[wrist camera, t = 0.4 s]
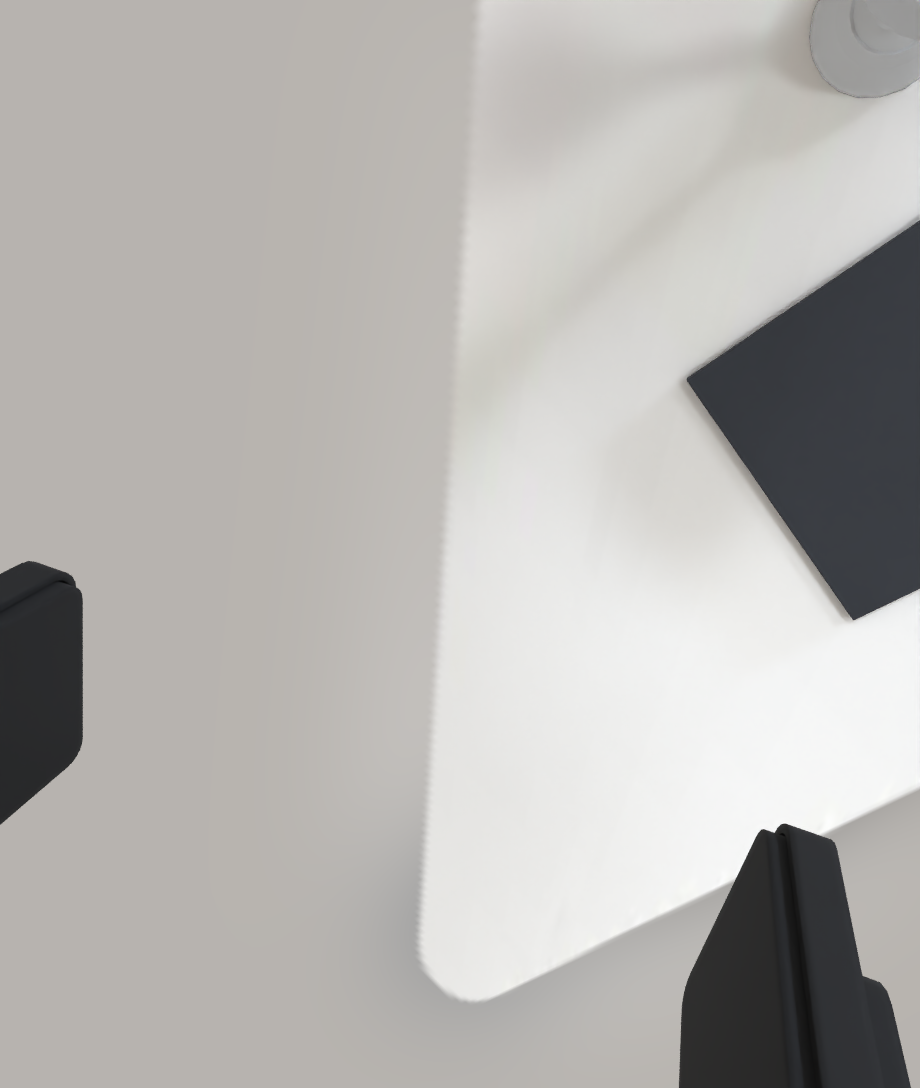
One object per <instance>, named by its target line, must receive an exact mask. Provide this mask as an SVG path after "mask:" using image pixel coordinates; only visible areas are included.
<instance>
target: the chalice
mask: <svg viewBox="0 0 920 1088" xmlns="http://www.w3.org/2000/svg"><path fill="white" fill-rule="evenodd" d="M809 38H810V44H811V51H812V57H813V61H814V63H815V65H816V66H817V68H818V70H819V72H820V74H821V76H822V78H823V79H824V80H826V81H827V82H828V83H829V84H830V85H832V86H833V87H834V88H835V89H836V90H838V91H839V92H842V93H845V94H849V95H852V96H855V97H858V98H865V97H882V96H885V95H888V94H891V93H894V92H897V91H899V90H902V89H905V88H906V87H907V86H909V85H910V84H912V83H913V82H915V81H916V80H918V79H919V78H920V0H819V1H818V3H817V5H816V8H815V10H814V12H813V17H812V24H811V30H810V37H809Z"/></svg>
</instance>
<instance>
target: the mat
mask: <svg viewBox="0 0 920 1088" xmlns="http://www.w3.org/2000/svg"><path fill="white" fill-rule="evenodd" d="M687 382H688V383H689V384H690V386H691V387H692V389H693V390H694V392H695V393H696V395H697V396H698V397H699V399H700V400H701V402H702V403H703V405H704V406H705V407H706V409H707V410H708V412H709V413H710V415H711V416H712V418H713V419H714V420H715V422H716V423H717V425H718V426H719V428H720V429H721V431H722V432H723V433H724V435H725V436H726V438H727V439H728V441H729V442H730V443H731V445H732V446H733V448H734V449H735V451H736V452H737V454H738V455H739V456H740V458H741V459H742V461H743V462H744V464H745V465H746V467H747V468H748V469H749V471H750V472H751V474H752V475H753V477H754V478H755V480H756V481H757V482H758V484H759V485H760V487H761V488H762V490H763V491H764V492H765V494H766V495H767V497H768V498H769V500H770V501H771V503H772V504H773V505H774V507H775V508H776V510H777V511H778V513H779V514H780V516H781V517H782V518H783V520H784V521H785V523H786V524H787V526H788V527H789V528H790V530H791V531H792V533H793V534H794V536H795V537H796V539H797V540H798V541H799V543H800V544H801V546H802V547H803V549H804V550H805V552H806V553H807V554H808V556H809V557H810V559H811V560H812V562H813V563H814V565H815V566H816V567H817V569H818V570H819V572H820V573H821V575H822V576H823V577H824V579H825V580H826V582H827V583H828V585H829V586H830V588H831V589H832V590H833V592H834V593H835V595H836V596H837V598H838V599H839V601H840V602H841V603H842V605H843V606H844V608H845V609H846V611H847V612H848V613H849V615H850V616H851V618H852V619H853V620H855V619H857V618H860V617H862V616H864V615H866V614H868V613H870V612H872V611H874V610H876V609H878V608H880V607H882V606H885V605H887V604H889V603H891V602H893V601H895V600H897V599H899V598H901V597H903V596H905V595H907V594H910V593H912V592H914V591H916V590H918V589H920V221H918V222H917V223H915V224H914V225H912V226H911V227H909V228H908V229H907V230H905V231H904V232H902V233H901V234H899V235H898V236H896V237H895V238H893V239H892V240H890V241H889V242H887V243H886V244H884V245H883V246H881V247H880V248H878V249H877V250H876V251H874V252H873V253H871V254H870V255H868V256H867V257H865V258H864V259H862V260H861V261H859V262H858V263H856V264H855V265H853V266H852V267H850V268H849V269H847V270H846V271H845V272H843V273H842V274H840V275H839V276H837V277H836V278H834V279H833V280H831V281H830V282H828V283H827V284H825V285H824V286H822V287H821V288H819V289H818V290H817V291H815V292H814V293H812V294H811V295H809V296H808V297H806V298H805V299H803V300H802V301H800V302H799V303H797V304H796V305H794V306H793V307H791V308H790V309H788V310H787V311H786V312H784V313H783V314H781V315H780V316H778V317H777V318H775V319H774V320H772V321H771V322H769V323H768V324H766V325H765V326H763V327H762V328H760V329H759V330H757V331H756V332H755V333H753V334H752V335H750V336H749V337H747V338H746V339H744V340H743V341H741V342H740V343H738V344H737V345H735V346H734V347H732V348H731V349H729V350H728V351H727V352H725V353H724V354H722V355H721V356H719V357H718V358H716V359H715V360H713V361H712V362H710V363H709V364H707V365H706V366H704V367H703V368H701V369H700V370H698V371H697V372H696V373H694V374H693V375H691V376H690V377H688V378H687Z"/></svg>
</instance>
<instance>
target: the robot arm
mask: <svg viewBox="0 0 920 1088" xmlns="http://www.w3.org/2000/svg"><path fill="white" fill-rule="evenodd" d="M82 605H83V601H82V593H81V591H80V590H79V589H78V588H76V584H75V581H74V579H73V577H72V576H71V575H69V574H68V573H66V572H62V571H60V570H57V569H54V568H51V567H48V566H45V565H43V564H40V563H37V562H31V561H27V562H25V563H21V564H19V565H17V566H15V567H13V568H11V569H9V570H7V571H5V572H3V573H1V574H0V824H2V823H3V822H4V821H5V820H6V819H7V818H8V817H10V816H11V815H12V814H13V813H14V812H16V811H17V810H18V809H19V808H20V807H21V806H23V805H24V804H25V803H26V802H27V801H28V800H30V799H31V798H32V797H33V796H34V795H35V794H37V793H38V792H39V791H40V790H41V789H42V788H44V787H45V786H46V785H47V784H48V783H49V782H50V781H52V780H53V779H54V778H55V777H56V776H58V775H59V774H60V773H61V772H62V771H63V770H65V769H66V768H67V767H68V766H69V765H70V764H71V763H72V762H73V761H74V759H75V757H76V756H77V755H78V752H79V751H80V748H81V745H82V739H83V738H82V737H83V732H82V731H83V724H82V723H83V716H82V715H83V678H82V677H83V662H82V659H83V654H82V653H83V650H82V649H83V645H82V642H83V640H82V639H83V637H82V636H83V635H82V633H83V631H82V629H83V623H82V622H83V621H82V618H83V613H82V612H83V607H82ZM679 1075H680V1076H679V1088H911V1087H910V1082H909V1077H908V1074H907V1069H906V1064H905V1060H904V1056H903V1051H902V1047H901V1043H900V1039H899V1034H898V1030H897V1025H896V1021H895V1017H894V1012H893V1008H892V1004H891V1001H890V998H889V996H888V993H887V991H886V989H885V988H884V987H883V985H882V984H881V983H880V982H877V981H875V980H872V979H869V978H867V977H864V976H862V972H861V968H860V962H859V957H858V952H857V947H856V942H855V937H854V932H853V927H852V922H851V917H850V912H849V907H848V902H847V898H846V893H845V887H844V882H843V877H842V872H841V867H840V862H839V857H838V852H837V848H836V845H835V843H834V842H833V841H832V840H831V839H828V838H825V837H822V836H819V835H816V834H814V833H811V832H808V831H805V830H802V829H799V828H796V827H794V826H791V825H788V824H781V825H780V826H779V827H778V828H777V830H776V832H775V833H773V832H770V831H767V830H764V829H763V830H761V831H760V832H759V833H758V835H757V836H756V838H755V840H754V842H753V845H752V847H751V849H750V851H749V853H748V855H747V857H746V859H745V861H744V863H743V865H742V867H741V869H740V872H739V874H738V876H737V878H736V880H735V882H734V884H733V886H732V888H731V891H730V893H729V894H728V896H727V899H726V901H725V903H724V905H723V907H722V909H721V911H720V913H719V915H718V917H717V919H716V921H715V924H714V926H713V928H712V930H711V932H710V934H709V936H708V938H707V940H706V942H705V944H704V946H703V949H702V950H701V953H700V955H699V957H698V959H697V961H696V963H695V965H694V967H693V969H692V971H691V973H690V976H689V978H688V981H687V984H686V987H685V991H684V996H683V1002H682V1017H681V1045H680V1074H679Z"/></svg>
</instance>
